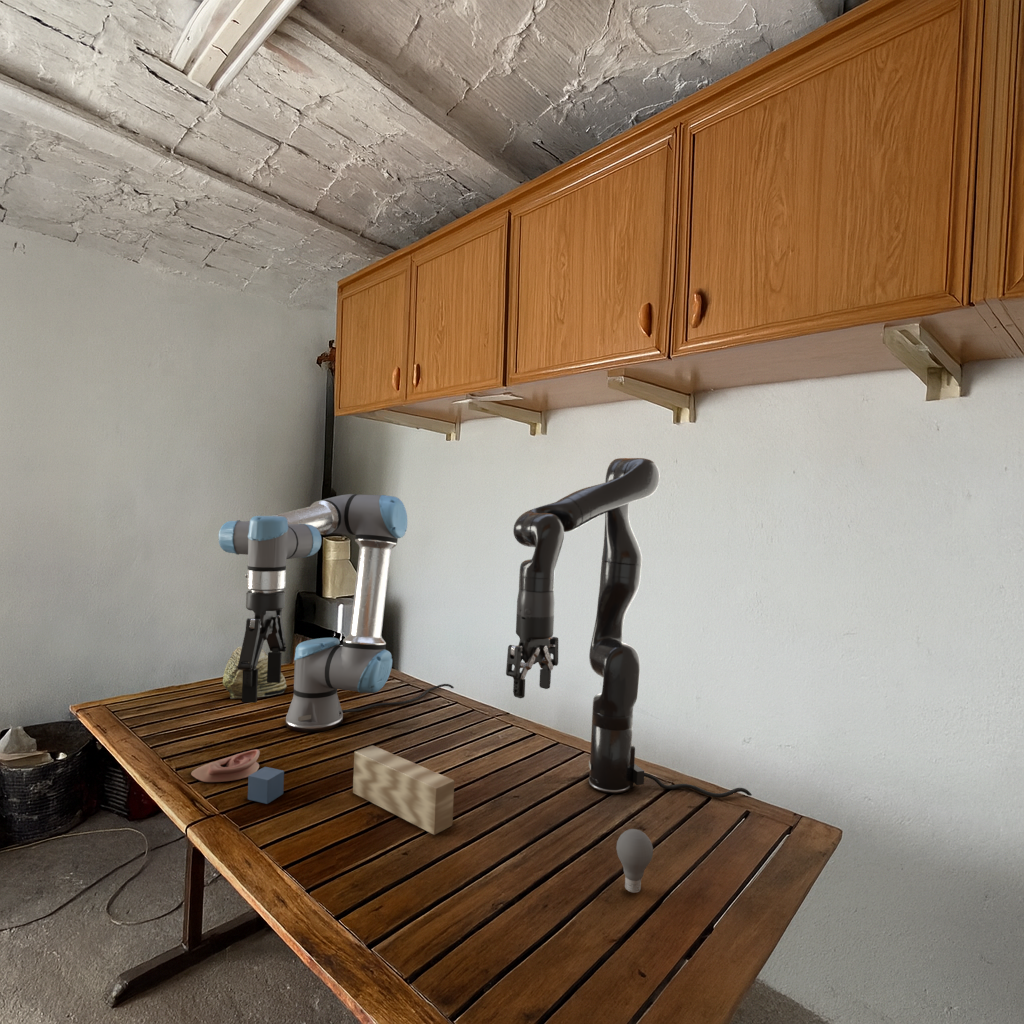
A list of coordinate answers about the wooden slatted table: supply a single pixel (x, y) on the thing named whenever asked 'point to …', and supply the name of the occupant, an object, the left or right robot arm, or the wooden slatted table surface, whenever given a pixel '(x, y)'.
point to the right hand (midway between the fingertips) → (532, 692)
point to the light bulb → (634, 857)
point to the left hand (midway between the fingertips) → (262, 691)
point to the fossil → (235, 677)
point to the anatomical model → (229, 768)
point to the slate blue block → (265, 785)
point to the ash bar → (404, 788)
